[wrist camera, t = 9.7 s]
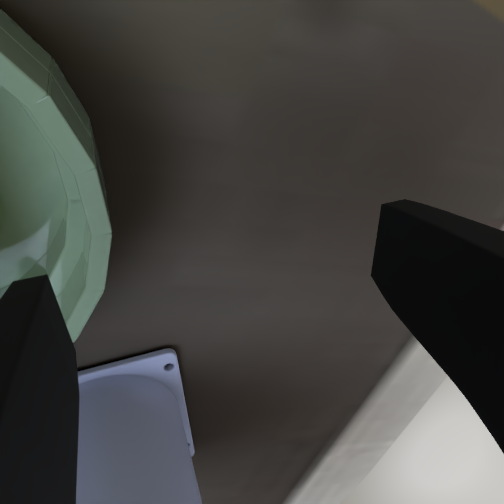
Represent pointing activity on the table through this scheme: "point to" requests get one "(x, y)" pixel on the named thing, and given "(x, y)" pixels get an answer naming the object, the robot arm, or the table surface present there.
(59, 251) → the bowl
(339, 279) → the table surface
